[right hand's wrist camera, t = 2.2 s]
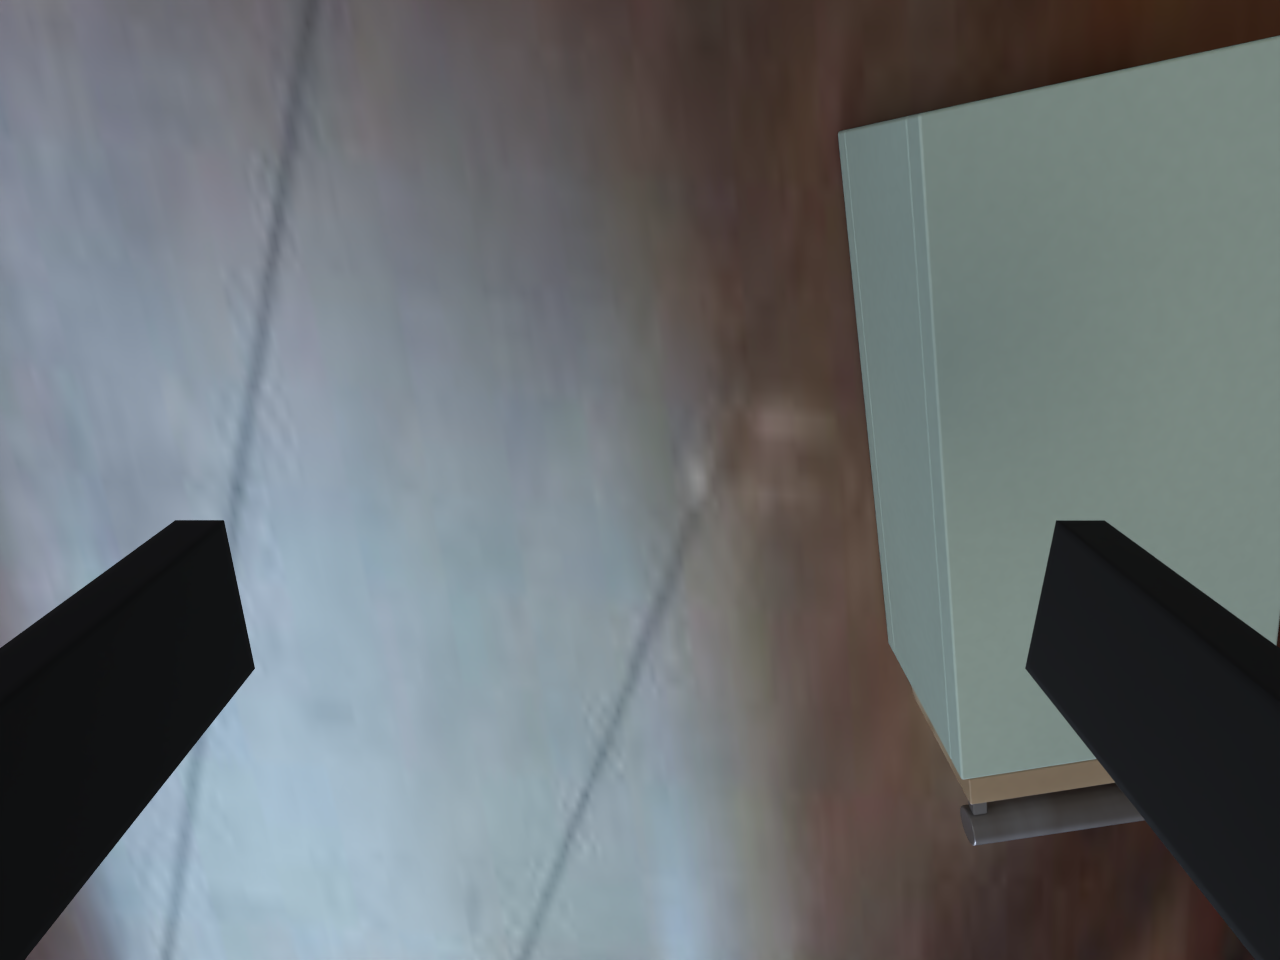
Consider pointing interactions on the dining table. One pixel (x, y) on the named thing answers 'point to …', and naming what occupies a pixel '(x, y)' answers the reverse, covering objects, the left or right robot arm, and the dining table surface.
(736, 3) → the dining table surface
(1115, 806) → the drawer
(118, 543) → the dining table surface
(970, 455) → the cabinet
